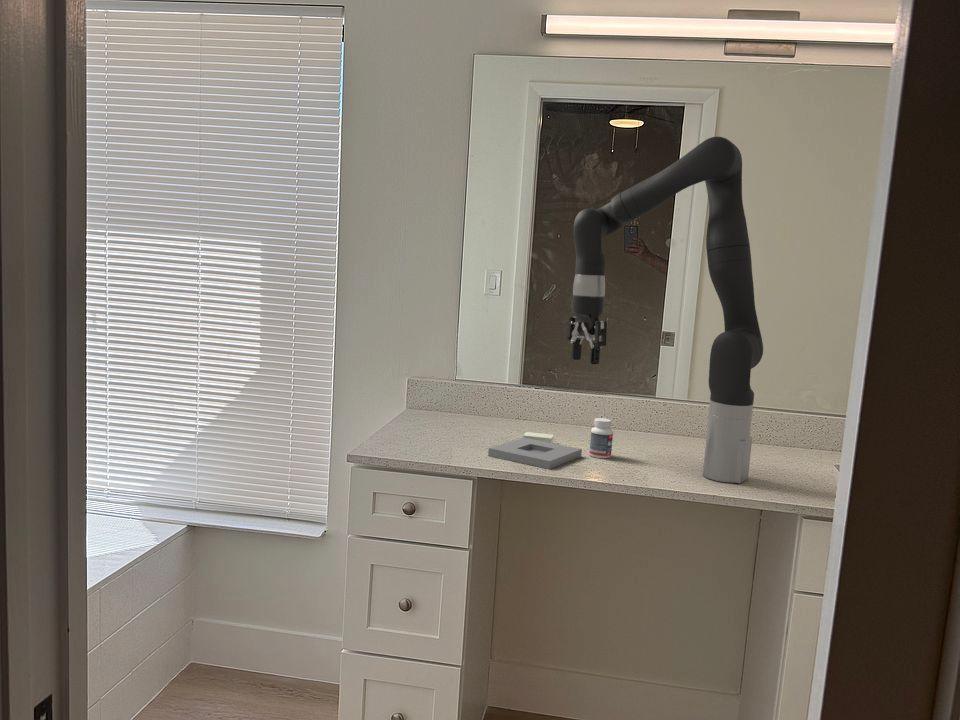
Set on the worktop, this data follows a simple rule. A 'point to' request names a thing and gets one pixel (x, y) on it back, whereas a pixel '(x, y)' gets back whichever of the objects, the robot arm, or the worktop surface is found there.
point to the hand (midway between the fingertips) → (584, 361)
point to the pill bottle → (601, 439)
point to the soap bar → (539, 436)
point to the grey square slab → (535, 452)
